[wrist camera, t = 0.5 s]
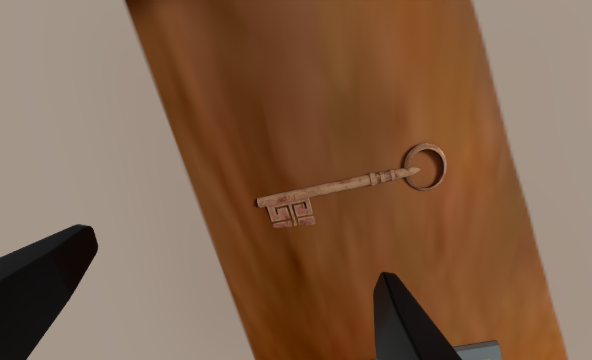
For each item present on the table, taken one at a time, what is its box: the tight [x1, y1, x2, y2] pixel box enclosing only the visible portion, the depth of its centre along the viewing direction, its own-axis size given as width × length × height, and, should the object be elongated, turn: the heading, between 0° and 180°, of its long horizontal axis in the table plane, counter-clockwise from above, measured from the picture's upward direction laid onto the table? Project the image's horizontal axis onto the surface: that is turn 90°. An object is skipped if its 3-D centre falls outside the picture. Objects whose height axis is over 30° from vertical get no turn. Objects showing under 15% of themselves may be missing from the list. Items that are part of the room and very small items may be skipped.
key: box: [257, 143, 447, 228], centre depth 24 cm, size 6×1×15 cm
